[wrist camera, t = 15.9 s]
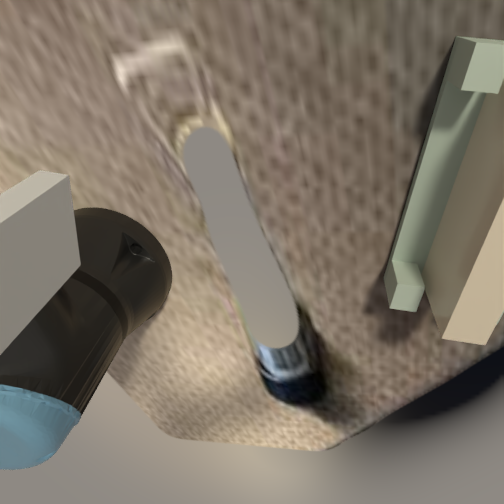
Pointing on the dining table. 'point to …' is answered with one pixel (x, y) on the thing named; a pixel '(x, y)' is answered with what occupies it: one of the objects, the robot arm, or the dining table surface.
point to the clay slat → (472, 237)
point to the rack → (441, 162)
